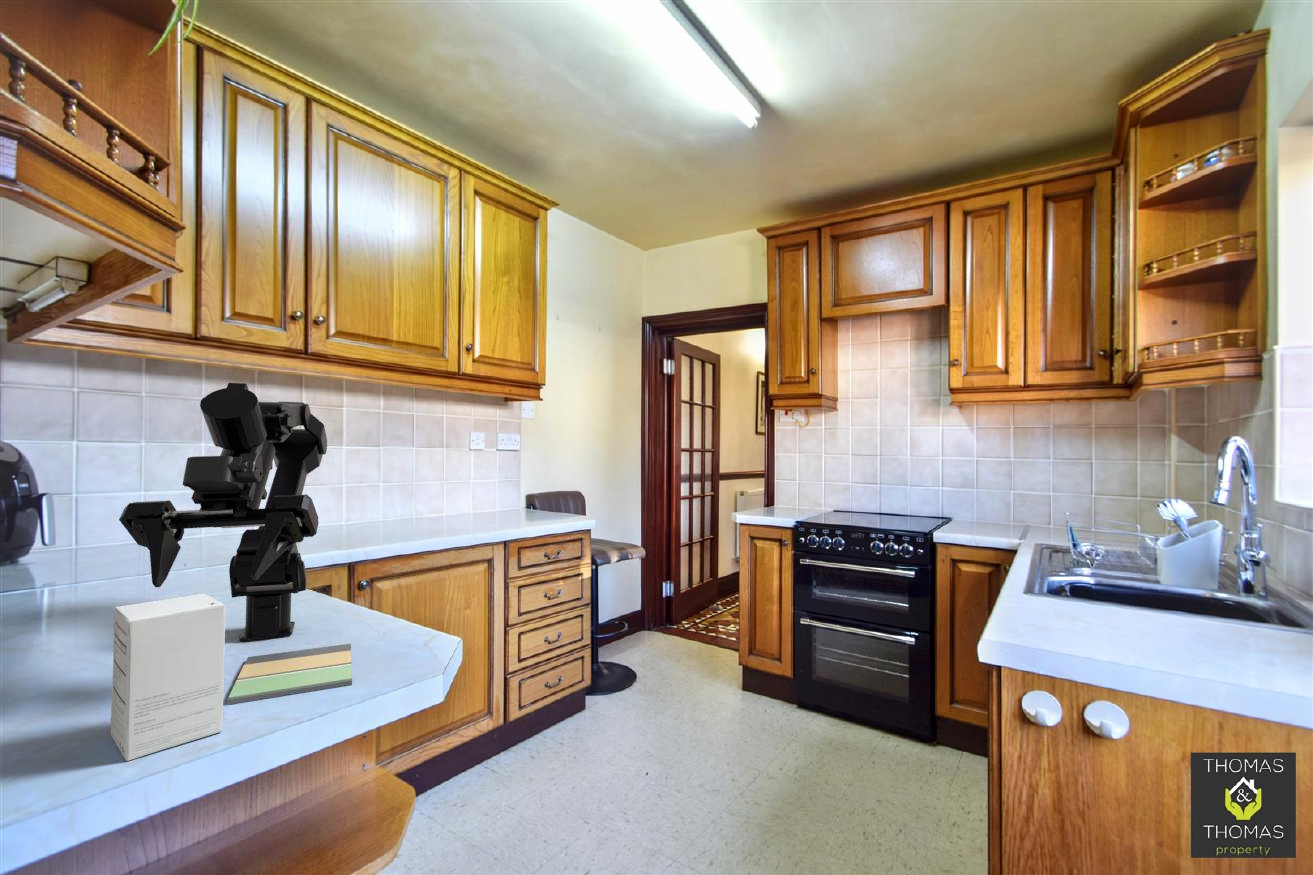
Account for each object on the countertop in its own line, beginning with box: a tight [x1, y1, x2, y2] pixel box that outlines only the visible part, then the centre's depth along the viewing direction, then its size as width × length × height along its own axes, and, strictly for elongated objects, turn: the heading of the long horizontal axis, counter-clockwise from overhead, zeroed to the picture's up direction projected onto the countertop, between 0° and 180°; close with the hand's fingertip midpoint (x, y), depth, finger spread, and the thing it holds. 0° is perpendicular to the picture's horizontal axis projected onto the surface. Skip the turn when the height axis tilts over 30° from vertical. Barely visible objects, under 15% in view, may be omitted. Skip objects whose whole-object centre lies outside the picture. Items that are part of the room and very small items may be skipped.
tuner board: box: [227, 643, 353, 706], centre depth 72 cm, size 15×12×1 cm
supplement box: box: [110, 593, 227, 762], centre depth 56 cm, size 7×7×13 cm
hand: (205, 581), depth 64 cm, fingers open, 9 cm apart
